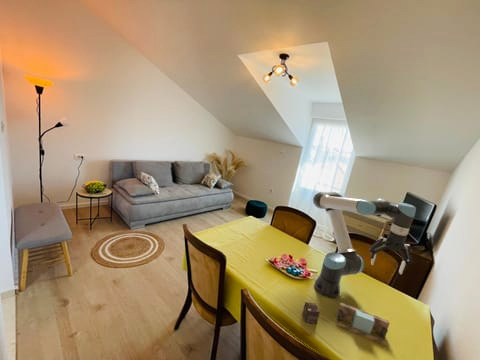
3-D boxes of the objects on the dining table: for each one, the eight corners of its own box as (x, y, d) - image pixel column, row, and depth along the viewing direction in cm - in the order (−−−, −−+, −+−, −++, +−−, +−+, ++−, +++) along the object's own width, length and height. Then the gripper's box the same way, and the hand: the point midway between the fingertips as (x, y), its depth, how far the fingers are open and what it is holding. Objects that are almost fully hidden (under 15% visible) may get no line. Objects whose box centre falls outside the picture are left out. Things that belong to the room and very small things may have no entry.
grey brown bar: (336, 325, 117) (340, 312, 115) (336, 314, 124) (340, 302, 122) (387, 346, 109) (392, 333, 107) (383, 333, 116) (388, 320, 115)
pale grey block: (351, 329, 116) (356, 314, 114) (351, 324, 119) (356, 310, 117) (369, 336, 113) (374, 321, 111) (368, 330, 116) (373, 316, 114)
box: (313, 314, 121) (316, 303, 120) (316, 324, 116) (320, 312, 114) (301, 313, 121) (305, 301, 119) (305, 322, 115) (308, 311, 114)
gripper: (372, 228, 118) (361, 263, 124) (429, 243, 110) (415, 280, 115) (370, 223, 125) (359, 257, 130) (424, 237, 117) (410, 272, 122)
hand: (385, 268), depth 123 cm, fingers open, 13 cm apart
